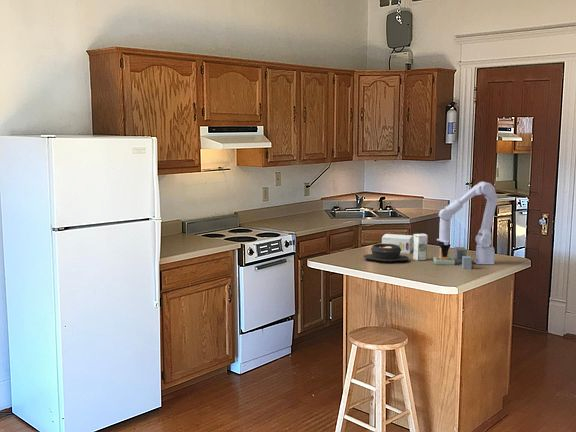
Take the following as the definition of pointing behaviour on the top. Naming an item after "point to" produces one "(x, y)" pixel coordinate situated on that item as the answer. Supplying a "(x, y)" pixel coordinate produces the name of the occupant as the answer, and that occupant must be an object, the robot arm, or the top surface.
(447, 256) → the terracotta block
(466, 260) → the slate block
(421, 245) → the syrup box
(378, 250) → the black round brimmed piece
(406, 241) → the supplement box
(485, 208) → the robot arm
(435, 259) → the sage tray
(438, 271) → the top surface
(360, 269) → the top surface
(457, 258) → the grey housing
